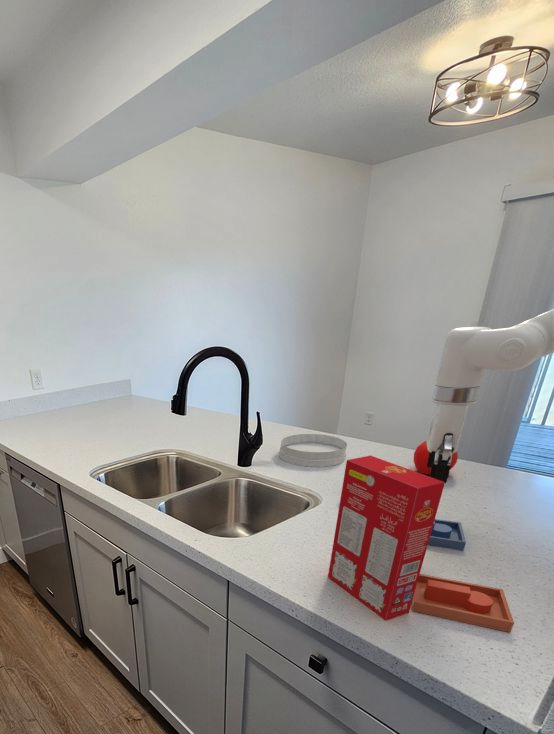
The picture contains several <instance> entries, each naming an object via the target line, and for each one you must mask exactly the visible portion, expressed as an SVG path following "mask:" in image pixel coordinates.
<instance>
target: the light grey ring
mask: <svg viewBox="0 0 554 734" xmlns="http://www.w3.org/2000/svg"><path fill="white" fill-rule="evenodd" d="M347 445H348V444H347V442H346V441H345V440H344V439H341V438H340V437H337V436H336V437H335V436H334V435H333V436H332V435H329V434H328V435H326V434H319V433H301V434H293V435H288V436H286V437H283V438H282V439H281V441H280V447H279V458H280V459H281V460H282V461H284V462H286V463H289V464H292V465H296V466H300V467H308V468H309V467H310V468H322V467H323V468H324V467H333V466H337V465H340V464H342V463H343V462H345V460H346V456H347Z"/></svg>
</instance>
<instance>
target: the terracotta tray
mask: <svg viewBox="0 0 554 734" xmlns="http://www.w3.org/2000/svg"><path fill="white" fill-rule="evenodd" d="M428 579H429V580H434V581H440V582H445V583H450V584H455V585H461V586H466V587H470V591H478V592H481V593H484V594H486V595H488V596H489V597H491V598H492V600H493V605H492V607H491V610H490V612H489V613H486V614H479V613H474V612H471V611H469V610H467V609H465V608H464V607H462V606H457V605H452V604H447V603H442V602H438V601H433V600H428V599H425V596H424V591H425V588H426V585H427V581H428ZM411 611H412V612H416V613H420V614H425V615H429V616H433V617H437V618H442V619H448V620H451V621H456V622H461V623H466V624H469V625H474V626H478V627H479V626H480V627H483V628H489V629H492V630H497V631H502V632H505V633H511V631H512V629H513V627H514V625H515V621H514V618H513V616H512V612H511V610H510V606H509V604H508V600H507V597H506V595H505V591H504V589H503V588H498V587H494V586H493V587H492V586H487V585H481V584H476V583H471V582H465V581H461V580H455V579H450V578H445V577H444V578H443V577H440V576H434V575H428V574H424V573H420V574H419V578H418V582H417V585H416V589H415V592H414V596H413V600H412V603H411Z"/></svg>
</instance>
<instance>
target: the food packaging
mask: <svg viewBox="0 0 554 734" xmlns="http://www.w3.org/2000/svg"><path fill="white" fill-rule="evenodd" d="M429 476H430V475H429ZM429 476H428V475H427V474H424V473H420V472H419V471H415V470H412V469H410V468H406V467H405V466H401V465H398V464H396V463H392V462H390V461H387V460H385V459H382V458H379V457H376V456H374V455H370V454H369V455H365V456H360V457H356V458H355V457H354V458H349V459H346V463H345V468H344V475H343V481H342V487H341V493H340V499H339V504H338V505H339V506H338V512H337V517H336V525H335V531H334V537H333V542H332V543H333V544H332V548H331V555H330V560H329V567H328V574H327V578H328V579H330V580H331V581H332V582H333V583H335V584H336V585H338V586H339V587H341V588H342V589H343V590H344V591H345V592H347V593H349V595H351V596H353V598H355V599H356V600H357V601H359V602H361V604H363V605H364V606H365V607H367V608H368V609H369V610H371V611H372V612H374V613H375V614H377V615H378V616H379V617H380V618H382V619H383V620H384V621H388V620H391V619H394V618H397V617H400V616H404V615H406V614H409V613H410V610H411V608H412V600H413V596H414V592H415V589H416V585H417V582H418V578H419V574H421V570H422V567H423V563H424V560H425V557H426V552H427V550H428V546H429V545H428V542H429V538H430V535H431V531H432V527H433V524H434V520H435V519H436V516H437V512H438V509H439V506H440V502H441V498H442V495H443V491H444V487H445V485H446V483H445V482H443V481H440V480H437V479H434V478H432V477H429Z"/></svg>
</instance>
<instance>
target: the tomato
mask: <svg viewBox="0 0 554 734" xmlns="http://www.w3.org/2000/svg"><path fill="white" fill-rule="evenodd" d="M458 455H459V454H458V450H457V451H456V452H455V453H453V454H452V459H451V464H450V465H451V467H450V471H451V470H452V469H453V468H454V467H455V465H457V462H458V459H459V456H458ZM428 457H429V451H428V449H427V440H425V441H423V442H422V443H420V444H419V445H418V446H416V448H415V451H414V453H413V464H414V467H415V469H416V470H417V472H418V473H421V474H423V475H429V476H430V471H431V467H427V461H428Z"/></svg>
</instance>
